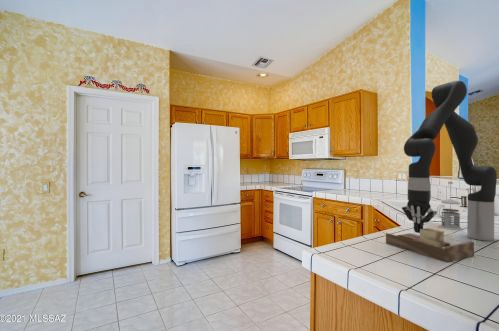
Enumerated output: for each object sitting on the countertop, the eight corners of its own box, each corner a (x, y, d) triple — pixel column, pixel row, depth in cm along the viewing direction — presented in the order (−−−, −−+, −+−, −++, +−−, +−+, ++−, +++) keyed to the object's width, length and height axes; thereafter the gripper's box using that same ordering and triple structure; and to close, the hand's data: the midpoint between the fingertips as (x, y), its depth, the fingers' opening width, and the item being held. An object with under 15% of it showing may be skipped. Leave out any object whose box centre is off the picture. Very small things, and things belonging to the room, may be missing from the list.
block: (428, 242, 102) (428, 227, 102) (443, 247, 97) (443, 231, 97) (419, 244, 100) (419, 229, 100) (434, 248, 95) (434, 232, 95)
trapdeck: (410, 238, 117) (410, 227, 117) (474, 255, 95) (474, 242, 95) (385, 242, 110) (386, 231, 110) (447, 262, 88) (448, 247, 88)
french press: (467, 230, 133) (467, 182, 134) (444, 229, 134) (444, 181, 134) (452, 225, 143) (452, 181, 143) (431, 225, 143) (431, 180, 144)
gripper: (442, 190, 98) (442, 235, 98) (409, 187, 110) (408, 227, 110) (429, 190, 95) (429, 237, 95) (396, 187, 107) (396, 229, 107)
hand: (418, 232), depth 102 cm, fingers closed
